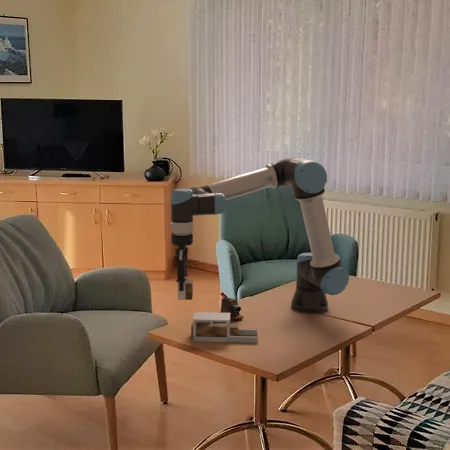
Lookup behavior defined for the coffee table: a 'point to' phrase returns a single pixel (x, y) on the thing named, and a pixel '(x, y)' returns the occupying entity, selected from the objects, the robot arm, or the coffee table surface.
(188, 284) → the block
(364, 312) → the coffee table surface
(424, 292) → the coffee table surface
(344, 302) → the coffee table surface
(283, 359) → the coffee table surface
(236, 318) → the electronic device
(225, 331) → the rod
